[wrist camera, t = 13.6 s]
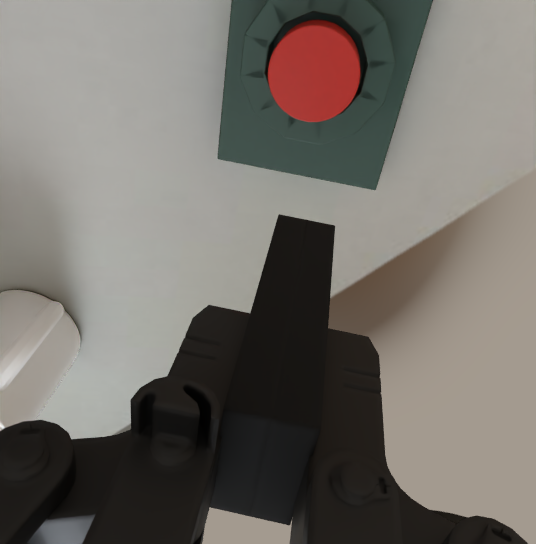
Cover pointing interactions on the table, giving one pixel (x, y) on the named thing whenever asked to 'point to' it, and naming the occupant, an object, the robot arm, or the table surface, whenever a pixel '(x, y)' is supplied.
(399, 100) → the box
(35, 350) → the mug
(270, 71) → the ignition button
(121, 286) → the table surface
